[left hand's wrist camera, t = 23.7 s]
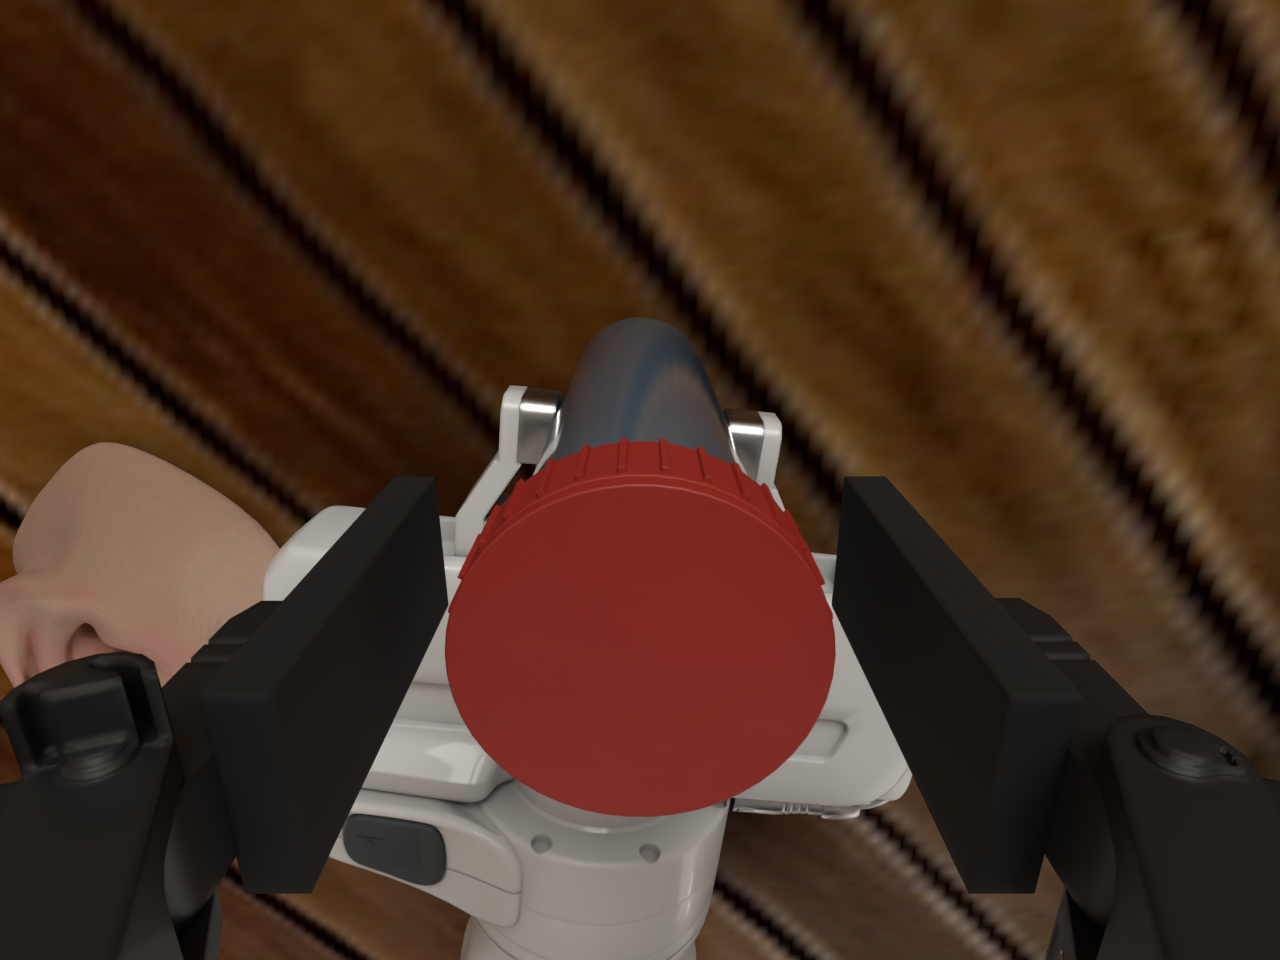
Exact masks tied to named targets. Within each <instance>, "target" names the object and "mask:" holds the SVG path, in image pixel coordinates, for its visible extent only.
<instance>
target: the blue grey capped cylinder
mask: <svg viewBox="0 0 1280 960" xmlns="http://www.w3.org/2000/svg"><path fill="white" fill-rule="evenodd" d="M620 438H628V442H659V440H660V438H664V439H667V444H675V445H680V446H683V447H687V448H691V449H695V450H697V448H698V446H700V447H703V448H705V451H706V454H709V455H711V456H714V457H716V458H719V459H721V460H723V461H725V462H727V463H728V464H730V465H731V464H732V462H733V461H734V462H736V463H738V464H739V465H740V468H741V471H742V472H743V473H745V474H746V475H747V476H748V474H747V471H746V469H745V466H744V464H743V461H742V459H741V456H740V454H739V451H738V449H737V446H736V443H735V441H734V438H733V436H732V433H731V431H730V428H729V426H728V423H727V421H726V418H725V416H724V413H723V411H722V408H721V406H720V403H719V401H718V398H717V396H716V393H715V391H714V388H713V386H712V383H711V381H710V378H709V376H708V373H707V371H706V368H705V366H704V363H703V361H702V358H701V356H700V354H699V352H698V350H697V349H696V347H695V345H694V344H693V343H692V342H691V340H690V339H689V338H688V337H687V336H686V335H685V334H684V333H683V332H681V331H680V330H678V329H677V328H676V327H674V326H672V325H670V324H668V323H666V322H663V321H660V320H657V319H652V318H643V317H637V318H628V319H623V320H620V321H617V322H614V323H612V324H610V325H608V326H606V327H605V328H603V329H602V330H600V331H599V332H598V333H597V334H596V335H594V336H593V337H592V338H591V340H590V341H589V342H588V343H587V344H586V346H585V347H584V349H583V350H582V352H581V355H580V357H579V359H578V361H577V364H576V366H575V369H574V371H573V374H572V376H571V379H570V381H569V384H568V386H567V389H566V391H565V394H564V396H563V399H562V401H561V404H560V407H559V409H558V412H557V414H556V417H555V419H554V422H553V424H552V427H551V429H550V432H549V434H548V437H547V439H546V442H545V444H544V447H543V449H542V452H541V454H540V457H539V459H538V462H537V464H536V467H535V469H534V472H533V474H532V476H533V475H534V474H536V473H537V472H538V471H540V470H541V469H543V468H545V465H546V462H547V461H548V460H550V459H551V458H553V459H554V461H555V462H556V461H558V460H559V459H561V458H564V457H566V456H569V455H571V454H574V453H577V452H579V451H581V449H582V446H583V445H587V444H589V446H590V448H593V447H597V446H601V445H605V444H613V443H620Z"/></svg>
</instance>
